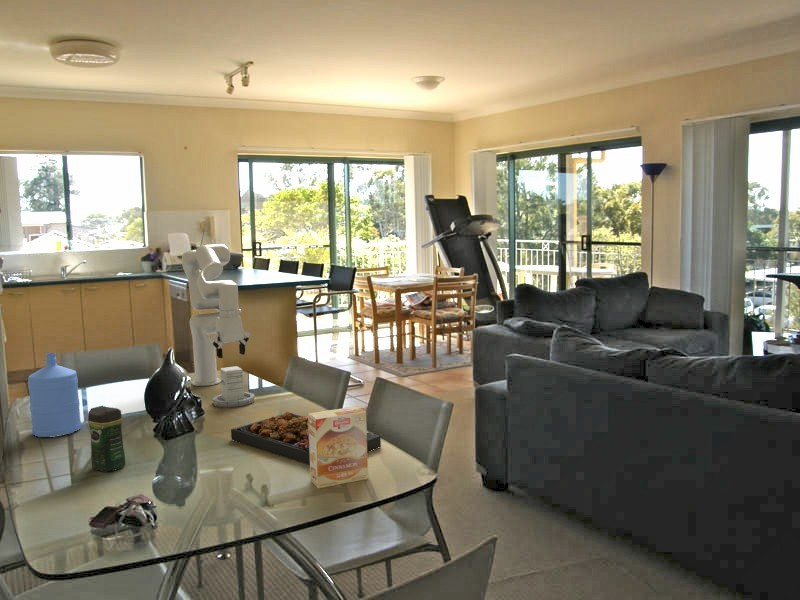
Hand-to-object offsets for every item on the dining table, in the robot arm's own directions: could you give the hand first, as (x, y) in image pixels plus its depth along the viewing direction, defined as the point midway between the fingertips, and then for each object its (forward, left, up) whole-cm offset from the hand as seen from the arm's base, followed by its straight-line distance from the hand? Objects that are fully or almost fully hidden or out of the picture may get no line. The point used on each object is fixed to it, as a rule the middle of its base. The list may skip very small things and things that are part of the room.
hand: (231, 355), depth 283 cm
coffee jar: (+43, -63, -19) cm, 78 cm away
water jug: (-8, -64, -19) cm, 67 cm away
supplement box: (0, 0, -18) cm, 18 cm away
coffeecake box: (+100, -19, -19) cm, 103 cm away
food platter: (+65, -9, -20) cm, 69 cm away
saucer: (+1, 0, -19) cm, 19 cm away
